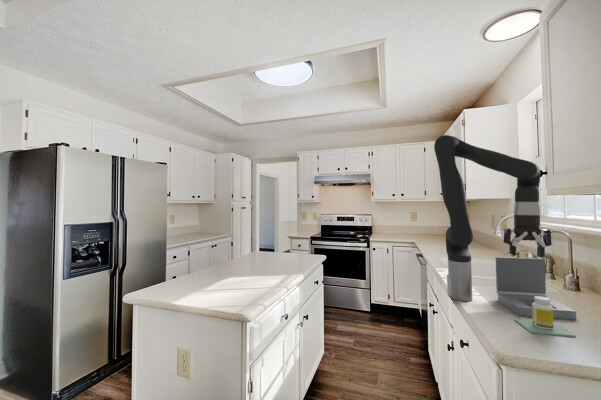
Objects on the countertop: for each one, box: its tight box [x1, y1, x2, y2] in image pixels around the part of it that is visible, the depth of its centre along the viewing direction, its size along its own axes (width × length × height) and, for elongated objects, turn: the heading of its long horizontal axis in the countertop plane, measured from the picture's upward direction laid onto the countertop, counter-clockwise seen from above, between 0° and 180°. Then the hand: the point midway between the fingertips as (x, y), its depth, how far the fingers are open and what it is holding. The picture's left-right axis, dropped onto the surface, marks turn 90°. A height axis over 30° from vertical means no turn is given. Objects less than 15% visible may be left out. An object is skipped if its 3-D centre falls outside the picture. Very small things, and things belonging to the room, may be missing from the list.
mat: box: [513, 318, 576, 338], centre depth 89 cm, size 12×10×1 cm
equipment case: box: [495, 256, 577, 320], centre depth 105 cm, size 18×17×19 cm
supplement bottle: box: [531, 296, 555, 330], centre depth 89 cm, size 5×5×10 cm
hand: (526, 256), depth 98 cm, fingers open, 8 cm apart
